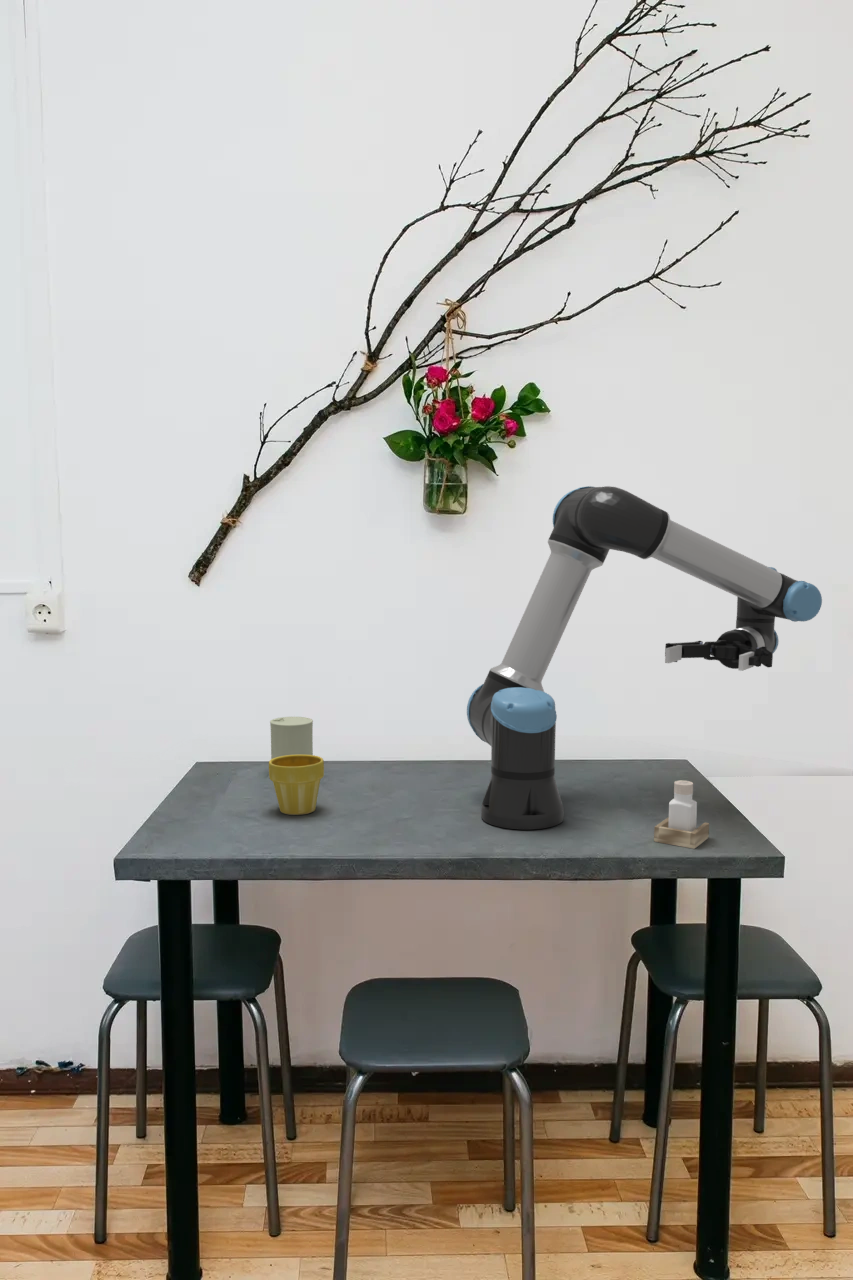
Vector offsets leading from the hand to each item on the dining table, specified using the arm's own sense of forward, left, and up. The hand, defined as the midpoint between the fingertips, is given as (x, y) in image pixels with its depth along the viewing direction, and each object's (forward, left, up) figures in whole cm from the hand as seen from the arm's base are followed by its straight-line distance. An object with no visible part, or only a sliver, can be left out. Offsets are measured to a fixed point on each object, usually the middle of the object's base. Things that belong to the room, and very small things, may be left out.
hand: (703, 659), depth 192 cm
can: (-84, -15, -30) cm, 91 cm away
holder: (+2, -13, -30) cm, 32 cm away
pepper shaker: (+2, -13, -29) cm, 32 cm away
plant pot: (-65, -36, -30) cm, 80 cm away
